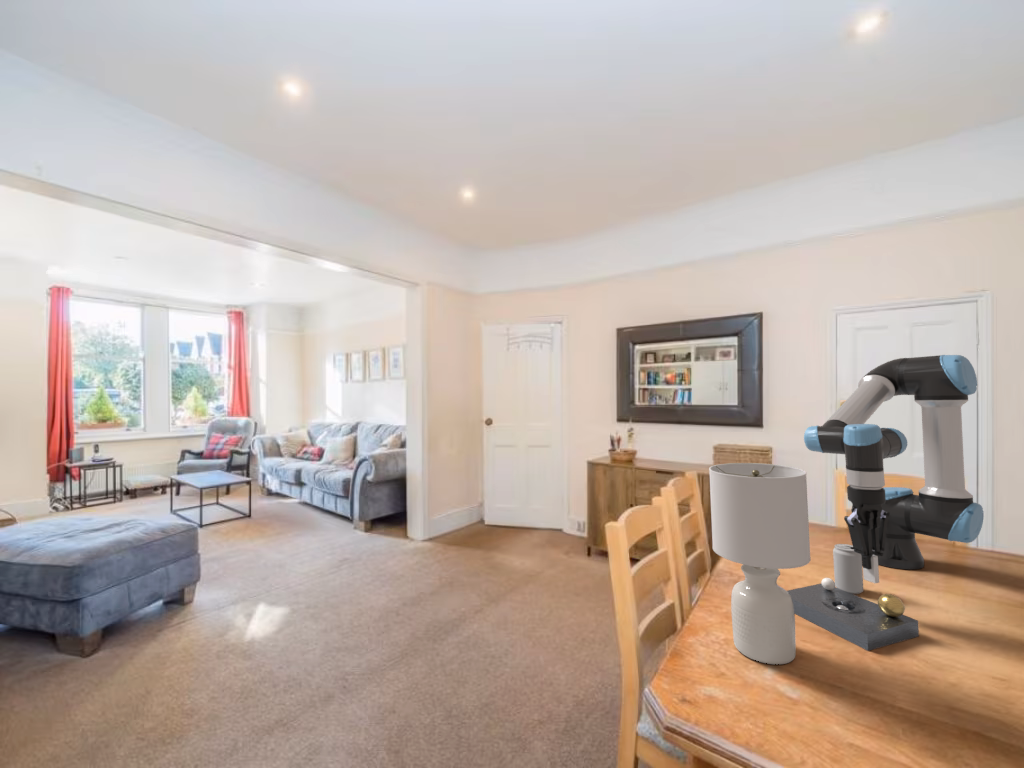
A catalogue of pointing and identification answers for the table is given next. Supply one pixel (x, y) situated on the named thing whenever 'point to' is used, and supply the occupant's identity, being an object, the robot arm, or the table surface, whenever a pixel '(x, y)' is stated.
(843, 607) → the steel ball
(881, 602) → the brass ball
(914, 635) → the plate
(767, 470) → the lamp
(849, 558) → the beverage can
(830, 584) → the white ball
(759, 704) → the table surface
